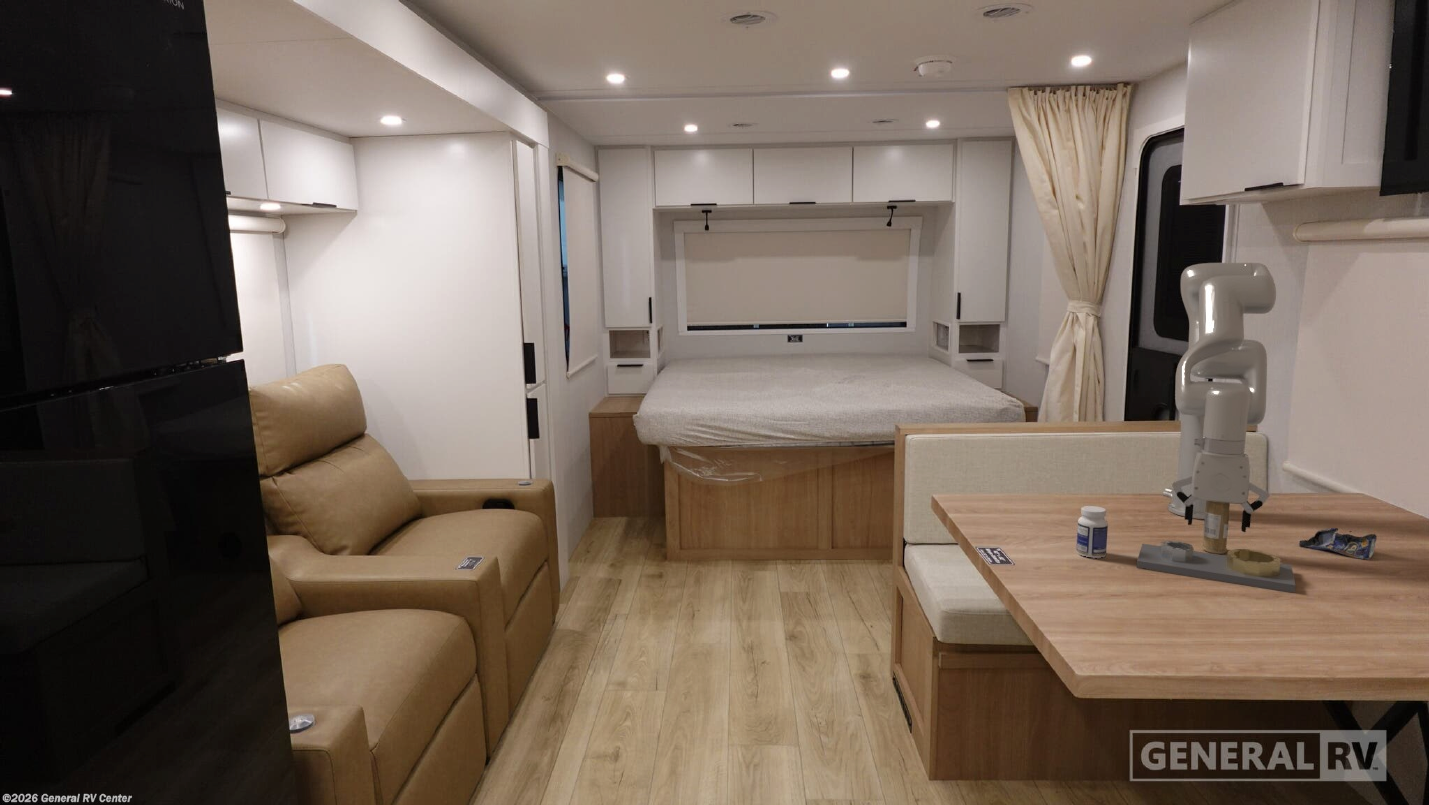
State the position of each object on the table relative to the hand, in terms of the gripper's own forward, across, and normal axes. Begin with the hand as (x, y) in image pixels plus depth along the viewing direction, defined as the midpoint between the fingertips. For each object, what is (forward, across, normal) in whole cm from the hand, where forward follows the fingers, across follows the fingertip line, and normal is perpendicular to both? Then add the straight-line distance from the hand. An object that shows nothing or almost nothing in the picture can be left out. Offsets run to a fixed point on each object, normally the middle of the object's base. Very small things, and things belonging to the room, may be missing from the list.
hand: (1216, 526), depth 174 cm
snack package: (+6, +22, +14) cm, 26 cm away
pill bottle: (+6, -22, -15) cm, 27 cm away
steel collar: (+4, -7, -12) cm, 15 cm away
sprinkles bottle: (+6, 0, +1) cm, 6 cm away
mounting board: (+6, 0, -12) cm, 14 cm away
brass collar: (+4, +6, -12) cm, 15 cm away
